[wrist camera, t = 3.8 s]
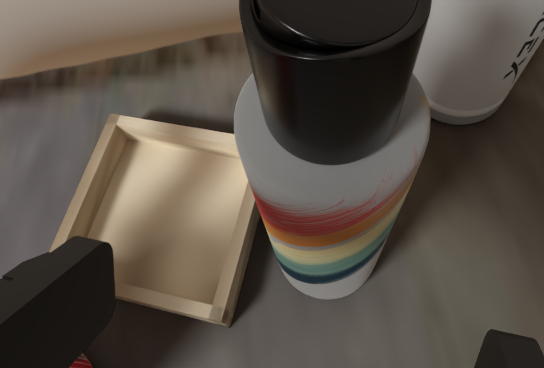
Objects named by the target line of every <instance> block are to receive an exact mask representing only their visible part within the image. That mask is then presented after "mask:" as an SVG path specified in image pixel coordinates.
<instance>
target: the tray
mask: <svg viewBox="0 0 544 368" xmlns="http://www.w3.org/2000/svg"><path fill="white" fill-rule="evenodd" d="M260 215H261V214H260V211H259V209H258V206H257V203H256V200H255V198H254V195H253V192H252V190H251V187H250V184H249V181H248V179H247V176H246V173H245V170H244V167H243V164H242V162H241V159H240V156H239V153H238V149H237V145H236V141H235V135H234V134H230V133H224V132H218V131H212V130H206V129H200V128H194V127H188V126H182V125H176V124H170V123H164V122H158V121H152V120H146V119H140V118H134V117H128V116H122V115H116V114H110V116H109V118H108V120H107V122H106V125H105V127H104V129H103V131H102V134H101V136H100V138H99V141H98V143H97V145H96V147H95V150H94V152H93V154H92V156H91V159H90V161H89V163H88V165H87V168H86V170H85V172H84V174H83V177H82V179H81V181H80V183H79V186H78V188H77V190H76V192H75V195H74V197H73V199H72V201H71V204H70V206H69V208H68V211H67V213H66V215H65V217H64V220H63V222H62V224H61V226H60V229H59V231H58V233H57V235H56V238H55V240H54V242H53V244H52V247H51V249H50V251H49V252H52V251H53V250H55V249H56V248H57V247H59V246H60V245H62V244H63V243H64V242H66V241H67V240H69V239H70V238H72V237H74V236H81V237H86V238H90V239H95V240H99V241H104V242H108V243H110V245H111V246H112V249H113V257H114V278H115V298H116V299H120V300H124V301H128V302H132V303H136V304H140V305H144V306H148V307H151V308H155V309H159V310H163V311H167V312H171V313H175V314H179V315H183V316H187V317H191V318H195V319H199V320H203V321H207V322H211V323H215V324H219V325H223V326H227V327H231V323H232V319H233V315H234V312H235V308H236V304H237V301H238V297H239V293H240V289H241V286H242V282H243V278H244V274H245V271H246V267H247V263H248V260H249V256H250V252H251V248H252V245H253V241H254V237H255V234H256V230H257V226H258V222H259V219H260Z"/></svg>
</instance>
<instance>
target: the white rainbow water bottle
mask: <svg viewBox="0 0 544 368" xmlns="http://www.w3.org/2000/svg"><path fill="white" fill-rule="evenodd" d="M431 4H432V0H239V11H240V19H241V24H242V28H243V33H244V37H245V41H246V45H247V49H248V54H249V58H250V62H251V66H252V70H253V73H252V75H251V76H250V77H249V79H248V80H247V81H246V83H245V85H244V86H243V88H242V90H241V92H240V95H239V97H238V100H237V103H236V108H235V114H234V135H235V141H236V145H237V149H238V153H239V156H240V159H241V162H242V164H243V167H244V170H245V173H246V176H247V179H248V181H249V184H250V187H251V190H252V192H253V195H254V198H255V200H256V203H257V206H258V209H259V211H260V214H261V217H262V219H263V222H264V225H265V228H266V230H267V233H268V236H269V238H270V241H271V244H272V247H273V249H274V252H275V255H276V257H277V260H278V263H279V265H280V267H281V269H282V271H283V273H284V275H285V276H286V278H287V279H288V280H289V282H290V283H291V284H292V285H293V286H294V287H295V288H297V289H298V290H299V291H301V292H303V293H304V294H306V295H308V296H311V297H314V298H319V299H336V298H341V297H344V296H347V295H349V294H351V293H353V292H354V291H356V290H357V289H358V288H359V287H361V286H362V285H363V284H364V282H365V281H366V280H367V279H368V277H369V276H370V274H371V272H372V270H373V269H374V267H375V264H376V262H377V260H378V258H379V256H380V253H381V251H382V249H383V247H384V244H385V242H386V240H387V238H388V236H389V233H390V231H391V229H392V227H393V225H394V222H395V220H396V218H397V216H398V213H399V211H400V209H401V207H402V205H403V202H404V200H405V198H406V196H407V193H408V191H409V189H410V187H411V184H412V182H413V180H414V178H415V175H416V173H417V171H418V168H419V166H420V163H421V161H422V158H423V156H424V153H425V151H426V148H427V144H428V140H429V134H430V120H431V118H430V109H429V104H428V100H427V97H426V94H425V92H424V90H423V88H422V86H421V84H420V82H419V81H418V79H417V78H416V76H415V75H414V74H413V69H414V66H415V63H416V59H417V56H418V53H419V49H420V46H421V42H422V39H423V36H424V32H425V29H426V26H427V22H428V19H429V15H430V10H431Z"/></svg>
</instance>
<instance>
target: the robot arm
mask: <svg viewBox="0 0 544 368" xmlns="http://www.w3.org/2000/svg"><path fill="white" fill-rule="evenodd" d="M114 307H115V278H114V257H113V249H112V246H111V245H110V243H108V242H104V241H99V240H95V239H90V238H86V237H81V236H74V237H72V238H70V239H69V240H67V241H66V242H64V243H63V244H62V245H60V246H59V247H57V248H56V249H55V250H53V251H52V252H47V253H45V254H42V255H40V256H37V257H34V258H32V259H29V260H27V261H24V262H22V263H21V264H19V265H18V266H16V267H15V268H14V269H12V270H11V271H9V272H8V273H6V274H5V275H3V278H2V279H0V368H69V367H70V366H71V365H72V364H73V363H74V362H75V361H76V359H77V358H78V357H79V356H80V355H81V354H82V353H83V352H84V350H85V349H86V348H87V347H88V346H89V345H90V344H91V343H92V342H93V340H94V339H95V338H96V337H97V336H98V335H99V334H100V333H101V332H102V330H103V329H104V328H105V327H106V326H107V324H108V323H109V321H110V319H111V317H112V314H113V311H114ZM474 368H544V355H543V353H542V351H541V349H540V346H539V344H538V342H537V341H536V340H535V339H533V338H529V337H524V336H520V335H515V334H511V333H506V332H502V331H497V330H493V329H491V330H489V331H488V332H487V334H486V336H485V338H484V341H483V344H482V347H481V349H480V352H479V355H478V358H477V361H476V364H475V367H474Z"/></svg>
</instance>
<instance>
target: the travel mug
mask: <svg viewBox="0 0 544 368" xmlns="http://www.w3.org/2000/svg"><path fill="white" fill-rule="evenodd" d="M543 39H544V0H432V4H431V10H430V15H429V19H428V22H427V26H426V29H425V32H424V36H423V39H422V42H421V46H420V49H419V53H418V56H417V59H416V63H415V66H414V69H413V74H414V75H415V76H416V78H417V79H418V81H419V82H420V84H421V86H422V88H423V90H424V92H425V94H426V97H427V100H428V104H429V109H430V117H431V118H433V119H435V120H438V121H441V122H444V123H449V124H458V125H464V124H472V123H476V122H479V121H482V120H484V119H486V118H488V117H490V116H491V115H492V114H493V113H494V112H496V111H497V109H498V108H499V107H500V105H501V104H502V103H503V101H504V99H505V98H506V96H507V95H508V93H509V91H510V90H511V89H512V87H513V85H514V84H515V82H516V81H517V79H518V78H519V76H520V75H521V73H522V71H523V70H524V68H525V67H526V65H527V64H528V62H529V61H530V59H531V57H532V56H533V54H534V53H535V51H536V50H537V48H538V47H539V45H540V44H541V42H542V40H543Z"/></svg>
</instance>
